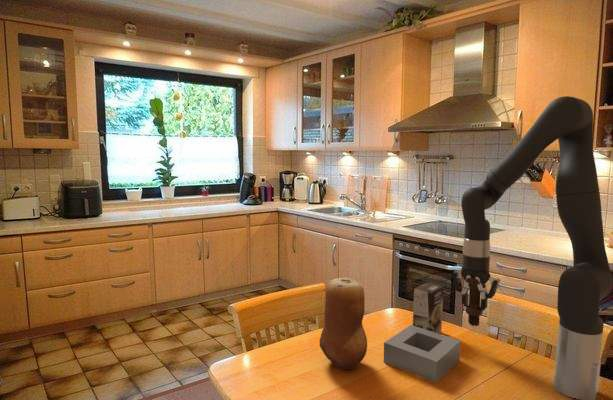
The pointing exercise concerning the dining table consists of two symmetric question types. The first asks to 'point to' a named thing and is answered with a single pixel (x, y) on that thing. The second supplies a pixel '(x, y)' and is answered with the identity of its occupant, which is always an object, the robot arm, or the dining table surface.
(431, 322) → the coffee box
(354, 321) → the butternut squash
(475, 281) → the bolt
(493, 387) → the dining table surface
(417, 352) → the socket block
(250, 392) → the dining table surface
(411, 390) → the dining table surface
